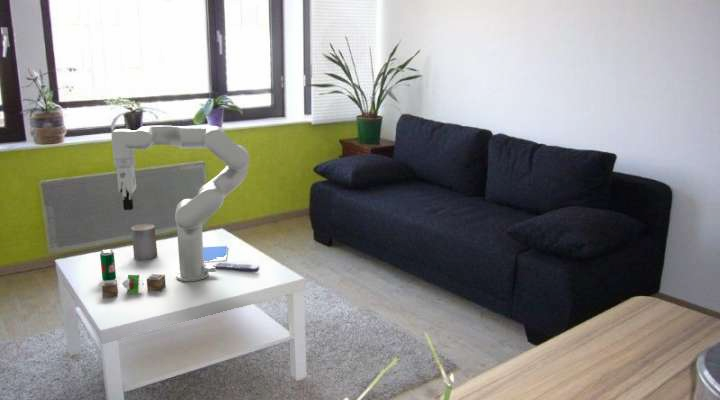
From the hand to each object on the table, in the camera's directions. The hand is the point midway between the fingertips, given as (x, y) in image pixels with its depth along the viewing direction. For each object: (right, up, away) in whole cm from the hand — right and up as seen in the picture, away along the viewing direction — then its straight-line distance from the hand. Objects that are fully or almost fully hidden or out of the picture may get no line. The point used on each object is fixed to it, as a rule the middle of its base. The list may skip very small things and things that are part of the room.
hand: (128, 209), depth 245 cm
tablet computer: (+24, -21, +38) cm, 50 cm away
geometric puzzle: (+4, -31, -4) cm, 32 cm away
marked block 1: (-4, -32, -7) cm, 33 cm away
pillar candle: (-5, -21, +35) cm, 41 cm away
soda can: (-10, -28, +8) cm, 31 cm away
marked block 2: (+11, -30, -1) cm, 32 cm away
